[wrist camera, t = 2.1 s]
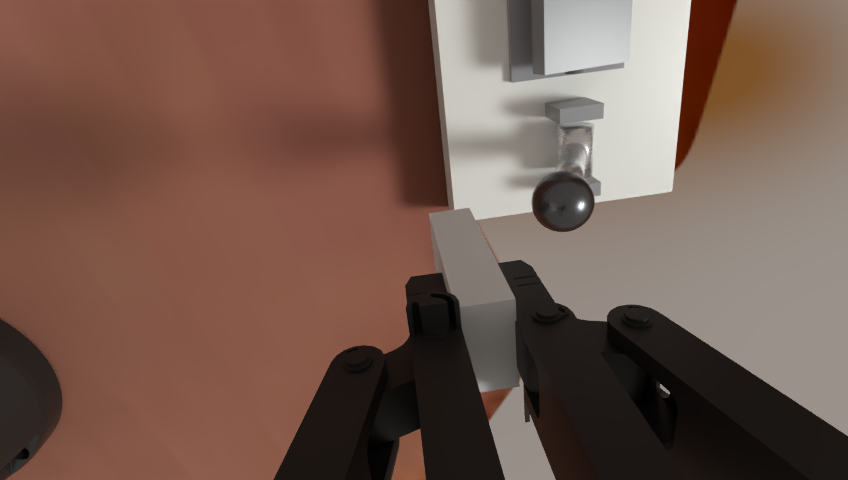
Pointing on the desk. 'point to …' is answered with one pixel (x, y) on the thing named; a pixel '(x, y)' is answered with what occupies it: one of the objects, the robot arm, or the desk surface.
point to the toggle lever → (567, 181)
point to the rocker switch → (579, 34)
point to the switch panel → (552, 105)
